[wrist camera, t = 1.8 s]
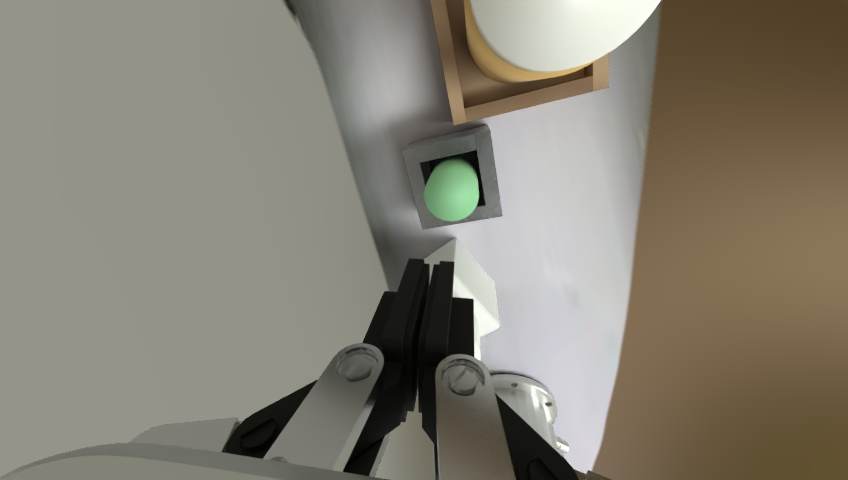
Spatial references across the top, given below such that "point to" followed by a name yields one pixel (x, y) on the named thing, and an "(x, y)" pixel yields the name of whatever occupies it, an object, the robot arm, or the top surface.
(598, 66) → the wooden tray
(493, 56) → the bottle
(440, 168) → the button
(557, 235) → the top surface
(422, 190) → the button pedestal
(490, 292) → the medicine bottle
